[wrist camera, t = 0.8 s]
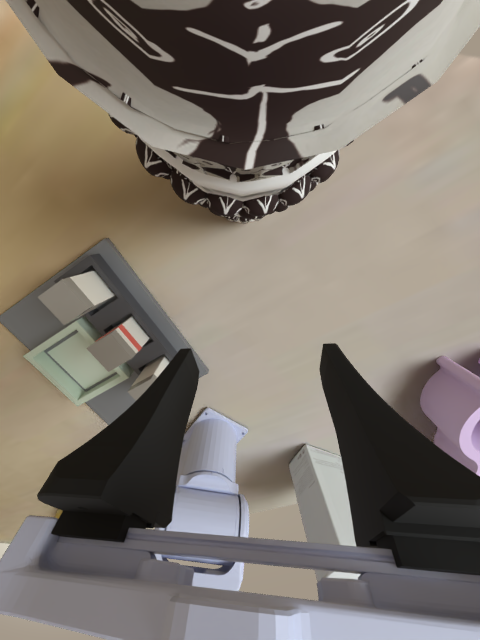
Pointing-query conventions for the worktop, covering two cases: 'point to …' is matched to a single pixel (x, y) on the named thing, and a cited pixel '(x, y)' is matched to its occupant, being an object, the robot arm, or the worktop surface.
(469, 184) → the worktop surface
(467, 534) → the robot arm
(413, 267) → the worktop surface
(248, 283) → the worktop surface
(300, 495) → the skincare box
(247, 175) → the striped tower model
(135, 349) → the block
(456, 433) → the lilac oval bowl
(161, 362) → the block
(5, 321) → the panel
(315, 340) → the worktop surface
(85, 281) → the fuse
